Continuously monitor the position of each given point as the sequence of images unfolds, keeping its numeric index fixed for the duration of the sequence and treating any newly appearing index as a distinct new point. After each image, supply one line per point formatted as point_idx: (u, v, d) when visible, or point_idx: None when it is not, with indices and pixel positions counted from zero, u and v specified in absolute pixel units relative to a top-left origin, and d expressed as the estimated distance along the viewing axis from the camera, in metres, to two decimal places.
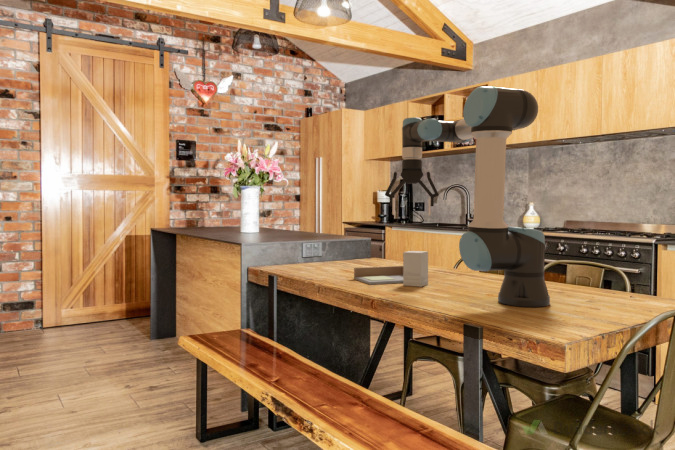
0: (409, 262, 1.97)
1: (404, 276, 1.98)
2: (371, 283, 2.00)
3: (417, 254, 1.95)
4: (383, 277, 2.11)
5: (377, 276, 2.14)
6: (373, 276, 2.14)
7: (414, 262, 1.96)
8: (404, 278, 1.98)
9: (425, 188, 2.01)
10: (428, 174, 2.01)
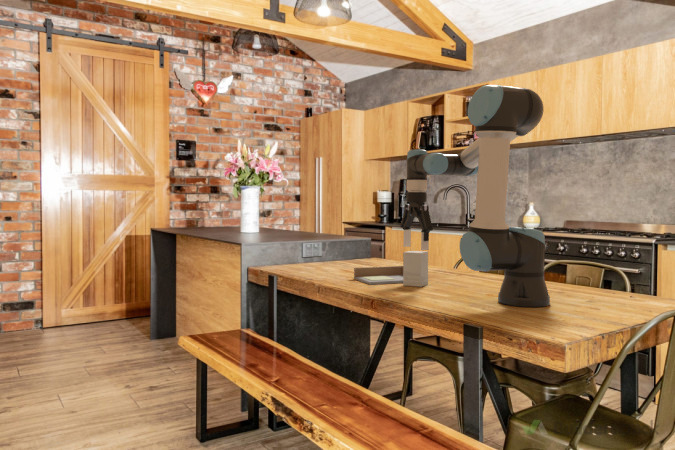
0: (409, 262, 1.97)
1: (404, 276, 1.98)
2: (371, 283, 2.00)
3: (417, 254, 1.95)
4: (383, 277, 2.11)
5: (377, 276, 2.14)
6: (373, 276, 2.14)
7: (414, 262, 1.96)
8: (404, 278, 1.98)
9: (420, 222, 1.94)
10: (421, 207, 1.93)
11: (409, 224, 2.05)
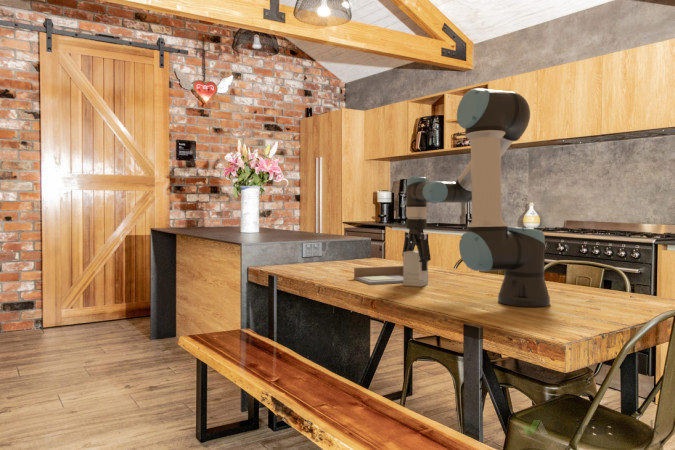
0: (409, 262, 1.97)
1: (404, 276, 1.98)
2: (371, 283, 2.00)
3: (417, 254, 1.95)
4: (383, 277, 2.11)
5: (377, 276, 2.14)
6: (373, 276, 2.14)
7: (414, 262, 1.96)
8: (404, 278, 1.98)
9: (418, 250, 1.95)
10: (421, 236, 1.93)
11: None
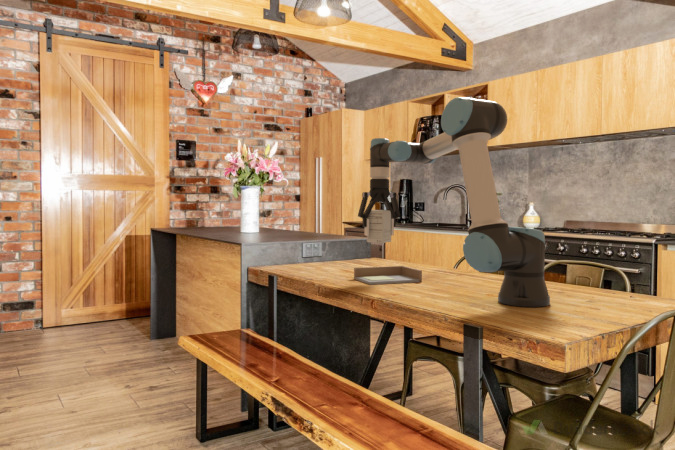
0: (386, 220, 2.06)
1: (383, 234, 2.05)
2: (371, 283, 2.00)
3: (389, 212, 2.09)
4: (383, 277, 2.11)
5: (377, 276, 2.14)
6: (373, 276, 2.14)
7: (388, 220, 2.08)
8: (383, 236, 2.05)
9: (390, 208, 2.09)
10: (395, 195, 2.09)
11: None
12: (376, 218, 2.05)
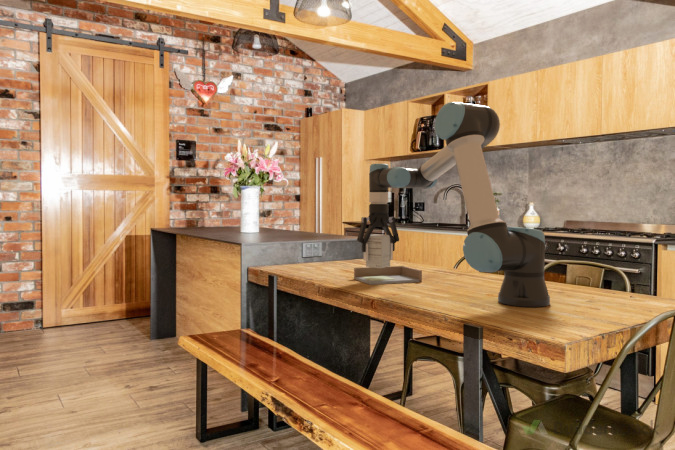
0: (385, 245, 2.07)
1: (382, 259, 2.05)
2: (371, 283, 2.00)
3: (388, 236, 2.09)
4: (383, 277, 2.11)
5: (377, 276, 2.14)
6: (373, 276, 2.14)
7: (387, 244, 2.08)
8: (382, 261, 2.05)
9: (389, 233, 2.10)
10: (394, 219, 2.10)
11: None
12: (376, 243, 2.06)
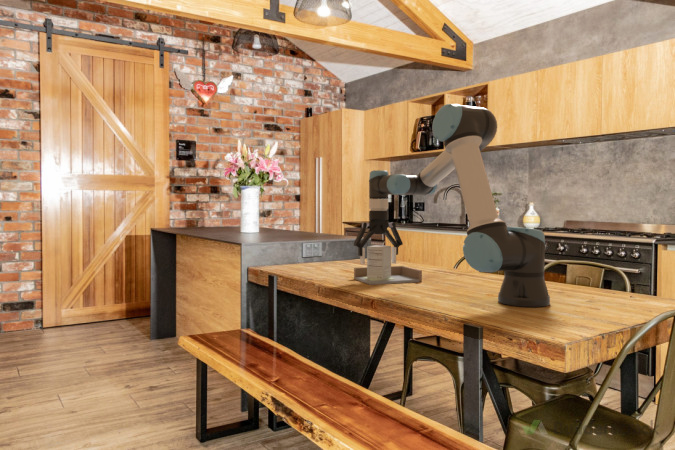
0: (386, 256, 2.07)
1: (384, 270, 2.05)
2: (371, 283, 2.00)
3: (389, 247, 2.09)
4: None
5: None
6: None
7: (388, 255, 2.08)
8: (384, 272, 2.05)
9: (391, 238, 2.10)
10: (394, 224, 2.10)
11: None
12: (377, 255, 2.06)
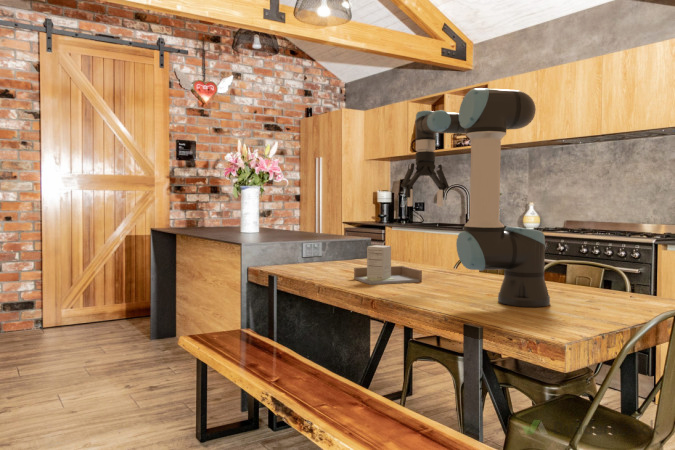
0: (386, 256, 2.07)
1: (384, 270, 2.05)
2: (371, 283, 2.00)
3: (389, 247, 2.09)
4: None
5: None
6: None
7: (388, 255, 2.08)
8: (384, 272, 2.05)
9: (438, 180, 2.08)
10: (440, 167, 2.08)
11: None
12: (377, 255, 2.06)
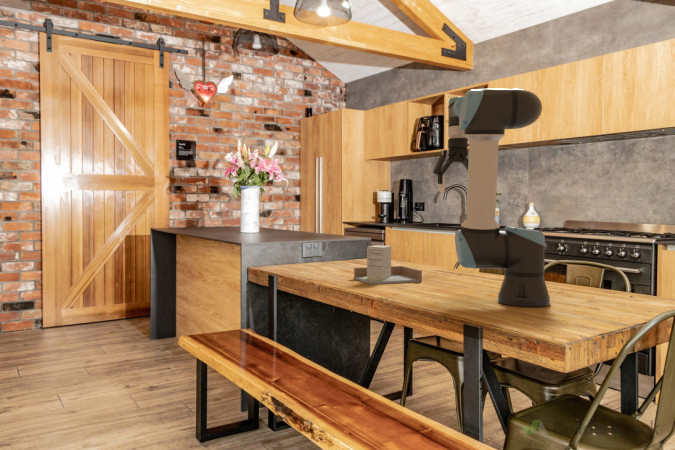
0: (386, 256, 2.07)
1: (384, 270, 2.05)
2: (371, 283, 2.00)
3: (389, 247, 2.09)
4: None
5: None
6: None
7: (388, 255, 2.08)
8: (384, 272, 2.05)
9: None
10: None
11: None
12: (377, 255, 2.06)
